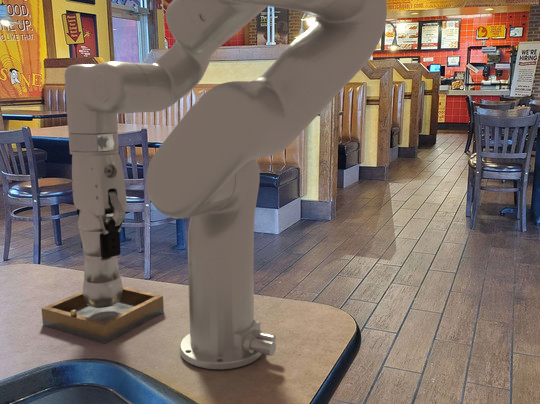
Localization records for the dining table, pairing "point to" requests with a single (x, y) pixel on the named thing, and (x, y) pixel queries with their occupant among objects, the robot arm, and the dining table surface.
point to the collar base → (102, 315)
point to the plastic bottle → (98, 265)
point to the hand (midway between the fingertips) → (100, 251)
